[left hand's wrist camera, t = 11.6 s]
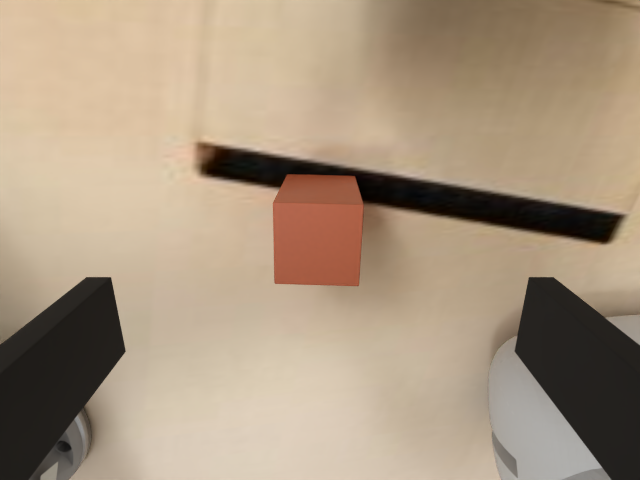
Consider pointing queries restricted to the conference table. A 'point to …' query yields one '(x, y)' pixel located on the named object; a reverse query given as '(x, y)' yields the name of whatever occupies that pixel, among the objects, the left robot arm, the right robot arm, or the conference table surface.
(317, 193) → the terracotta block
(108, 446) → the conference table surface
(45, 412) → the left robot arm
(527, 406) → the projector
